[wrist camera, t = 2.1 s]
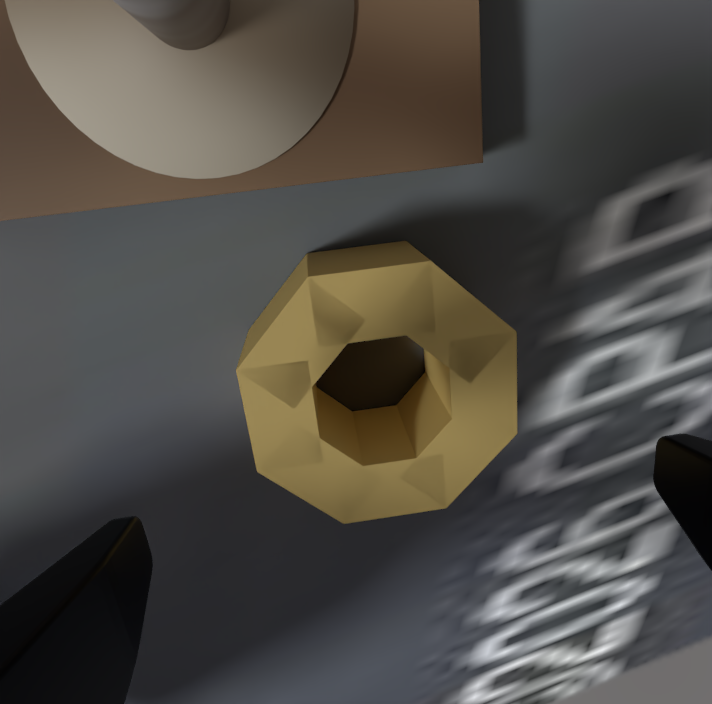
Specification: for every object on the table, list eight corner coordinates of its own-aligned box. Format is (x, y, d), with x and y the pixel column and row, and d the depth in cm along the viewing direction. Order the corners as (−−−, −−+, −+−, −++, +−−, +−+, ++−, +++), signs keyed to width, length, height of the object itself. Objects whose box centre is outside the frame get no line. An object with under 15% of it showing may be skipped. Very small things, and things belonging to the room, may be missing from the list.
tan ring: (481, 439, 17) (517, 497, 14) (275, 470, 16) (269, 535, 13) (474, 231, 14) (516, 249, 11) (235, 262, 14) (218, 288, 11)
